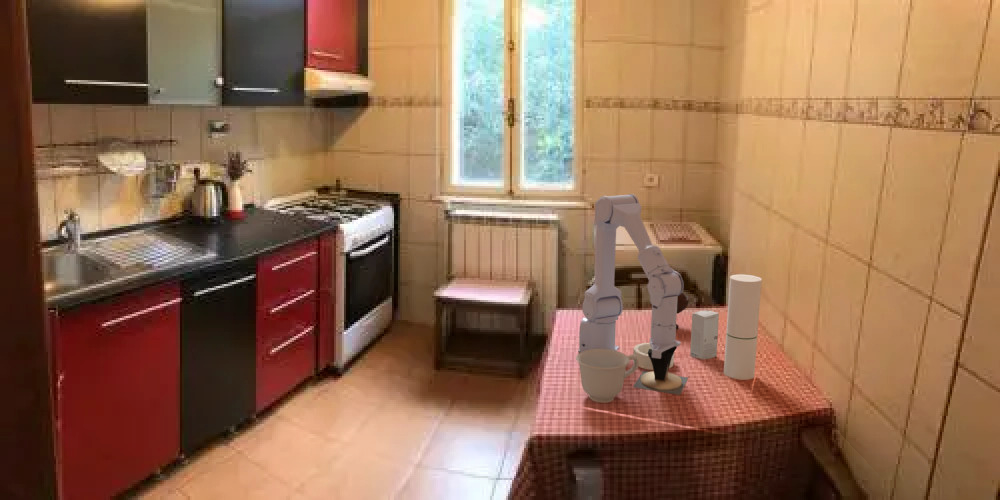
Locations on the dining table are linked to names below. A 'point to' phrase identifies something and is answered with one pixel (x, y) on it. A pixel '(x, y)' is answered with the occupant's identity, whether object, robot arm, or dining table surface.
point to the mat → (675, 391)
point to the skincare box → (704, 334)
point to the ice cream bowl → (681, 303)
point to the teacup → (604, 372)
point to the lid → (661, 381)
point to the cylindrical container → (742, 326)
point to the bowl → (645, 356)
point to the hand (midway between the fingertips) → (661, 376)
